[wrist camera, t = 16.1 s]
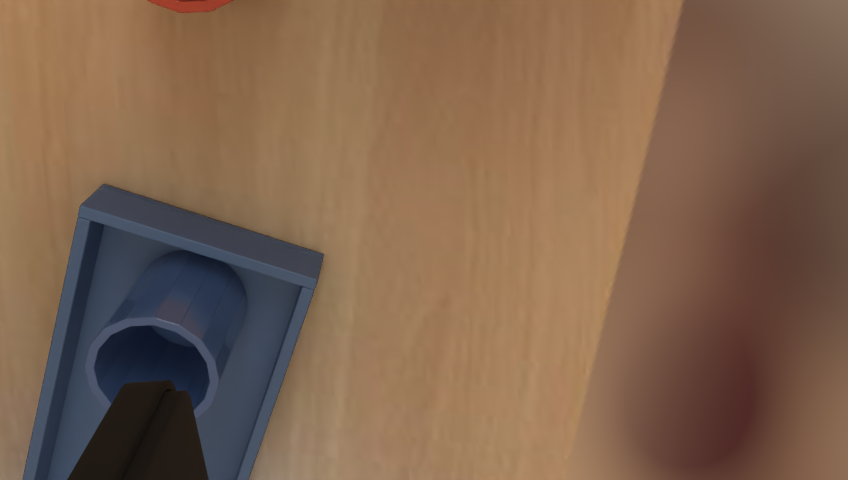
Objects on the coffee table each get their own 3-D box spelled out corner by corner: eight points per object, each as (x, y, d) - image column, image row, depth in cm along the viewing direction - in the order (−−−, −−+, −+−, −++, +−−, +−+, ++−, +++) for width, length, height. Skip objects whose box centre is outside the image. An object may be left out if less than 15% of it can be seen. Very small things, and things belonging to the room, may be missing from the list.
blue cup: (150, 235, 39) (99, 301, 32) (260, 269, 40) (232, 340, 33) (126, 329, 41) (74, 408, 35) (232, 359, 42) (200, 442, 35)
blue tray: (103, 183, 38) (79, 205, 36) (324, 253, 40) (317, 279, 37) (29, 520, 46) (5, 559, 44) (215, 566, 48) (204, 607, 45)
